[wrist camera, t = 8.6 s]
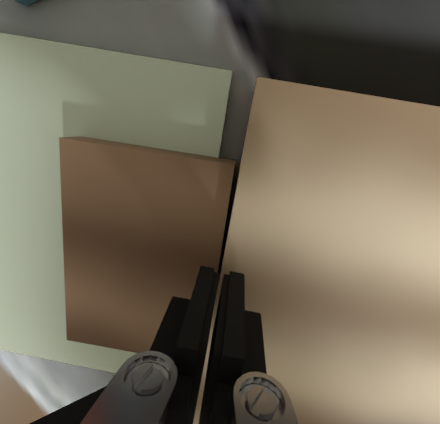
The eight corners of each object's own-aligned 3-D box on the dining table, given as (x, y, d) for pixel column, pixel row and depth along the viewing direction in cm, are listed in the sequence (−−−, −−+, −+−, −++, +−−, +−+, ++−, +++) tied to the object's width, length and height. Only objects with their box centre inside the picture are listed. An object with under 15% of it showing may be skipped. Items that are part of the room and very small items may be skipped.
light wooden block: (402, 418, 16) (437, 482, 13) (200, 377, 16) (191, 431, 13) (547, 138, 11) (655, 142, 8) (254, 89, 11) (257, 76, 8)
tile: (206, 342, 15) (202, 365, 13) (83, 320, 15) (66, 340, 14) (235, 160, 12) (234, 164, 10) (80, 136, 12) (58, 137, 11)
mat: (183, 380, 16) (181, 386, 16) (-38, 336, 17) (-45, 341, 16) (232, 72, 11) (232, 70, 11) (-90, 19, 12) (-101, 15, 11)
